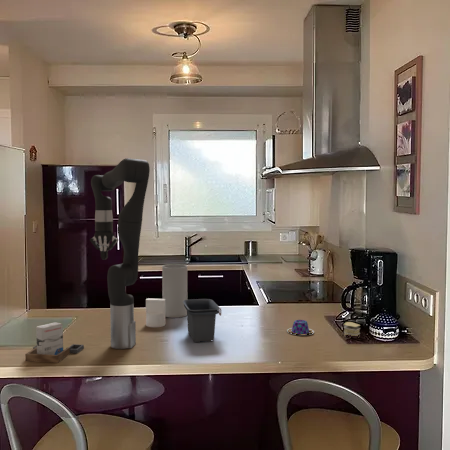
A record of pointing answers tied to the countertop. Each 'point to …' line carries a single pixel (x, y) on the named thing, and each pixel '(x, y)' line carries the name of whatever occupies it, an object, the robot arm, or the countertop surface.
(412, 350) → the countertop surface
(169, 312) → the cylinder vase
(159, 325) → the cylinder with rectangular tab
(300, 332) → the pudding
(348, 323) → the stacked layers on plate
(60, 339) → the ink box
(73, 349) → the trap pits
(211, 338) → the storage bin
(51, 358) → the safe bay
